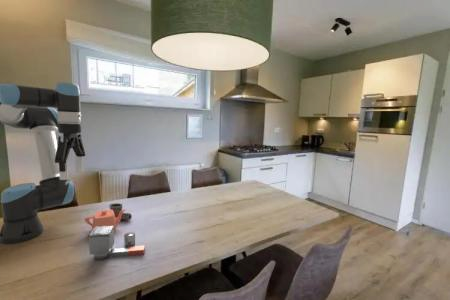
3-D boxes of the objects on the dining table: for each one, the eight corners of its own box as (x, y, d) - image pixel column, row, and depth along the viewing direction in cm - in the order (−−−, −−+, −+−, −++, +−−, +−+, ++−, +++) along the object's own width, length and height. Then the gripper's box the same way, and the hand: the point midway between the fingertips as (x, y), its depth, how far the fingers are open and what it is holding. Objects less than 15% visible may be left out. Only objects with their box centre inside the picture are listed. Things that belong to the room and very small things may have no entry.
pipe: (126, 223, 119) (126, 209, 118) (106, 220, 122) (105, 206, 121) (133, 218, 125) (133, 205, 124) (114, 215, 128) (113, 202, 127)
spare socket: (123, 248, 96) (123, 237, 95) (125, 243, 100) (125, 232, 100) (134, 247, 97) (134, 237, 96) (136, 242, 101) (136, 232, 101)
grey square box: (89, 254, 86) (88, 235, 85) (96, 244, 93) (95, 226, 92) (109, 253, 87) (108, 234, 86) (114, 243, 94) (113, 225, 93)
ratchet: (91, 261, 87) (91, 244, 86) (97, 252, 93) (96, 236, 92) (143, 256, 91) (143, 240, 90) (145, 248, 97) (145, 233, 96)
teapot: (86, 228, 112) (85, 208, 110) (125, 222, 120) (125, 203, 119) (84, 239, 102) (83, 218, 100) (127, 232, 110) (126, 211, 109)
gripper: (64, 124, 77) (67, 183, 80) (92, 122, 101) (93, 168, 104) (39, 123, 76) (44, 183, 79) (73, 122, 100) (75, 168, 103)
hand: (72, 175), depth 91 cm, fingers open, 13 cm apart
